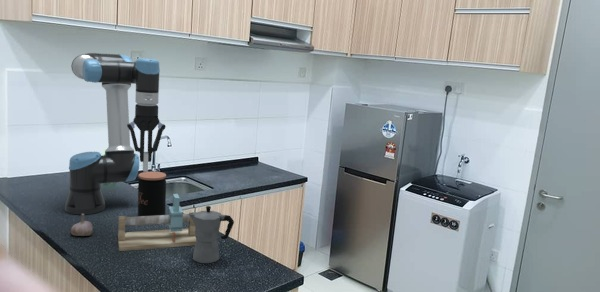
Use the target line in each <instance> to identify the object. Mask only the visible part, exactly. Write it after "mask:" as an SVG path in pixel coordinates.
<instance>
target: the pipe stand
mask: <svg viewBox="0 0 600 292" xmlns="http://www.w3.org/2000/svg"><path fill="white" fill-rule="evenodd" d="M190 213H193V211H192V212H189V213H183V223H188V228H182V231H176V232H171V231H170V229H161V230H160V229H158V230H157V229H156V230H145V231H144V230H143V231H141V230H140V231H129V232H128V231H127V232H126V227H129V226H147V225H162V224H166V225H167V224H168V223H170V219H171V215H169V214H165V215H156V216H138V215H137V216H125V215H119V216H118V233H117V234H118V235H117V238H118V242H117V243H118V252H127V251H139V250H140V251H141V250H150V249H152V250H155V249H165V248H166V249H168V248H177V247H178V248H179V247H191V246H193V247H194V246H195V243H196V239H197V236H196V226H195V224H194V222H193V220H192V218H191V217H190V216H189V214H190Z"/></svg>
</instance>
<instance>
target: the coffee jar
mask: <svg viewBox="0 0 600 292" xmlns="http://www.w3.org/2000/svg"><path fill="white" fill-rule="evenodd" d="M137 177H138V178H139V179H138V181H137V182H138V185H137V187H138V188H137V190H138V191H137V216H156V215H166V202H167V201H166V199H167V196H166V195H167V180H166V178H167V174H166V173H165V172H161V171H148V172H140V173H138V175H137Z"/></svg>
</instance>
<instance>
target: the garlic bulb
mask: <svg viewBox="0 0 600 292" xmlns="http://www.w3.org/2000/svg"><path fill="white" fill-rule="evenodd" d="M85 215H86V214H80V221H79V222H78V223H75V224H73V225H72V226H71V228H70V234H71V235H73V236H76V237H78V236H81V237H85V236H86V237H88V236H90V237H91V235H93V231H94V230H93V227H94V226H93V224H92V222H90V221H88V220H85Z"/></svg>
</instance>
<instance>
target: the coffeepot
mask: <svg viewBox="0 0 600 292" xmlns="http://www.w3.org/2000/svg"><path fill="white" fill-rule="evenodd" d="M205 208H206V209H205V210H200V211H194V212H193V211H192V212H193V213H192V212H189V213H190V214H189V213H188V214H189V216H190V217H191V218H192V220H193V222H194V224H195V236H196V243H195V245H194V249H193V253H192V260H193V261H194V262H196V263H200V264H211V263H214V262H215V263H216V262H217V261H219V259H220V258H221V257H220V249H219V243H218V242H219V241H218V236H219V234H220V233H219V232H220V227H221V223H222V222H228V224H227V226H226V230H225V232H224V235H221V236H220V238H221V239H222V240H227V239H228V238H229V236H230V233H231V231H232V228H233V227H234V223H235V221H234V219H233V218H232V216H231V215H226V214H222V213H221V212H218V211H215V210H211V208H212V207H211V206H210V205H206V207H205Z"/></svg>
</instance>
